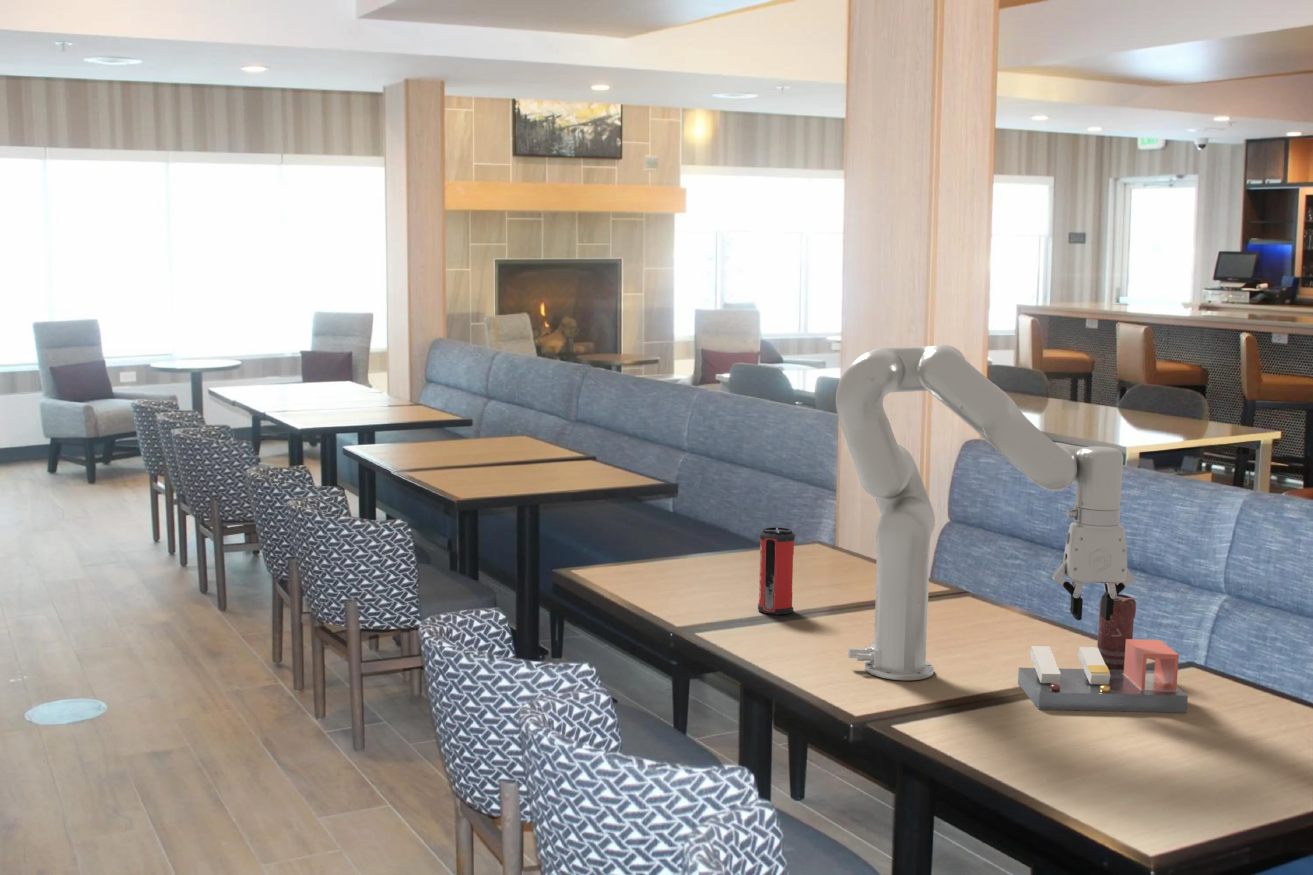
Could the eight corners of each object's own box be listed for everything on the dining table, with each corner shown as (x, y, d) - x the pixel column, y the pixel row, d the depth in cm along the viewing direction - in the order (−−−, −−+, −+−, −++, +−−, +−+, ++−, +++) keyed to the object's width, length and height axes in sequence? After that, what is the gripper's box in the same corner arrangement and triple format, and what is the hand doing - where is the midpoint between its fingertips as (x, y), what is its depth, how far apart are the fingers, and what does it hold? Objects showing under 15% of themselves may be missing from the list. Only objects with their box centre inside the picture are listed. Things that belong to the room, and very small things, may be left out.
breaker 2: (1089, 683, 225) (1091, 673, 224) (1077, 655, 232) (1079, 645, 231) (1108, 684, 225) (1110, 674, 224) (1096, 656, 232) (1098, 646, 231)
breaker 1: (1040, 682, 225) (1042, 673, 224) (1030, 654, 232) (1031, 645, 232) (1059, 683, 225) (1060, 674, 224) (1048, 655, 232) (1049, 646, 231)
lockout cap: (1141, 689, 223) (1143, 653, 222) (1123, 673, 232) (1125, 639, 231) (1176, 690, 223) (1178, 654, 222) (1157, 673, 232) (1159, 639, 231)
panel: (1038, 709, 221) (1039, 685, 221) (1017, 683, 235) (1019, 660, 235) (1186, 712, 221) (1188, 688, 220) (1157, 686, 235) (1158, 663, 234)
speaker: (794, 615, 279) (797, 533, 277) (759, 615, 280) (761, 533, 277) (791, 606, 287) (793, 526, 285) (756, 606, 287) (758, 526, 285)
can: (1134, 675, 241) (1138, 601, 239) (1098, 672, 242) (1102, 599, 240) (1129, 665, 247) (1133, 593, 245) (1094, 663, 248) (1098, 591, 246)
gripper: (1054, 520, 224) (1049, 623, 227) (1153, 522, 224) (1146, 625, 226) (1042, 512, 232) (1037, 612, 234) (1138, 514, 231) (1131, 614, 234)
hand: (1091, 617), depth 230 cm, fingers open, 4 cm apart
